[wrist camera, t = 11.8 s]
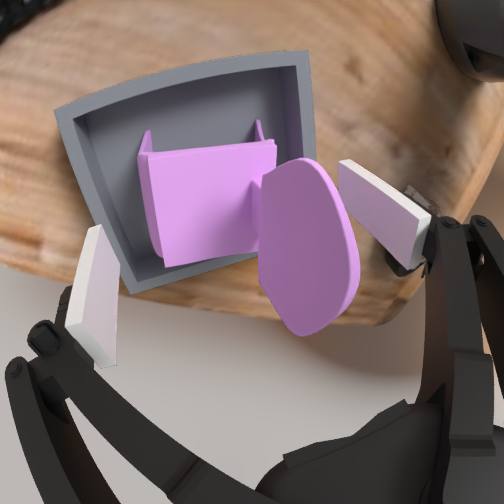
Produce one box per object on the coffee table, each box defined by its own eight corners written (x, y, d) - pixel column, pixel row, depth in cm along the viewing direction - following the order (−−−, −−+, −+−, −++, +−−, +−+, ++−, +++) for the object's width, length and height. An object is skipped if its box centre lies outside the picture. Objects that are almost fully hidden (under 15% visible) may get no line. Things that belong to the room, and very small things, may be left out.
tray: (283, 51, 19) (308, 50, 16) (297, 215, 28) (317, 237, 25) (70, 102, 16) (53, 110, 13) (130, 264, 25) (130, 295, 22)
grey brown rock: (399, 249, 41) (356, 255, 36) (441, 190, 33) (406, 183, 28) (425, 283, 37) (386, 297, 32) (475, 225, 29) (447, 226, 24)
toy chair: (136, 117, 18) (109, 223, 6) (260, 106, 20) (413, 186, 8) (151, 221, 23) (171, 398, 11) (257, 205, 25) (356, 347, 13)
